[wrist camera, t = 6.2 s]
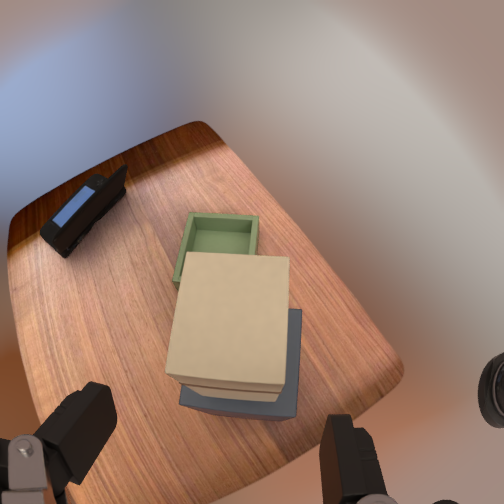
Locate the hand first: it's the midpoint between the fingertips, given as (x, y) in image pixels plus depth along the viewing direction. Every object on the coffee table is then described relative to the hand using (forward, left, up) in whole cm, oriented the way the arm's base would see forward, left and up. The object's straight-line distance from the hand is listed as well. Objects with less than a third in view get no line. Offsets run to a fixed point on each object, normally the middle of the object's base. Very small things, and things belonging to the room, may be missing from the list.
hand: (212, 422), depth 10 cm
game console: (+37, -15, -26) cm, 47 cm away
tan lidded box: (+2, -4, -10) cm, 11 cm away
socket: (+13, -18, -25) cm, 33 cm away
